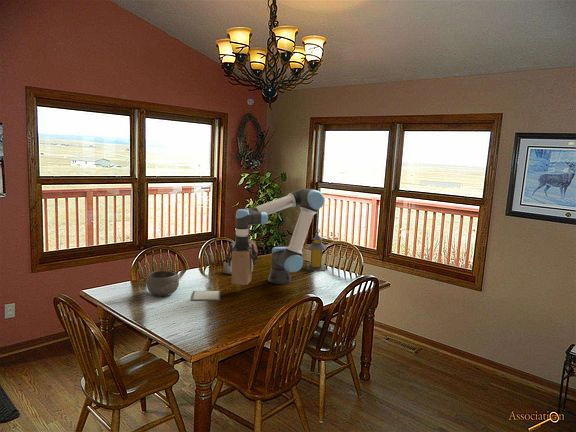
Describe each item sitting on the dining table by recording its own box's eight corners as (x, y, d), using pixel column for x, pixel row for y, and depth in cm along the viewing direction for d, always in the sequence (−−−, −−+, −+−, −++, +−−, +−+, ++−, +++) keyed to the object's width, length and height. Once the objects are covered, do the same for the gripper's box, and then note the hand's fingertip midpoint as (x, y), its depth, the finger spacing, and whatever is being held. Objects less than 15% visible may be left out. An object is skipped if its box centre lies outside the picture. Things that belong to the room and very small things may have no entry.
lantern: (307, 265, 327) (309, 227, 322) (325, 266, 325) (327, 228, 320) (305, 269, 313) (307, 230, 308) (324, 271, 311) (327, 231, 307)
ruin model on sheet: (239, 274, 295) (239, 260, 293) (237, 275, 292) (237, 261, 290) (225, 272, 299) (225, 258, 298) (223, 273, 296) (223, 259, 295)
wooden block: (247, 285, 248) (247, 252, 245) (230, 284, 250) (231, 251, 247) (251, 280, 258) (252, 249, 255) (236, 279, 260) (236, 247, 257)
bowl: (184, 292, 251) (184, 271, 249) (166, 301, 234) (166, 279, 232) (159, 288, 256) (159, 268, 255) (139, 297, 239) (139, 275, 238)
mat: (220, 291, 255) (220, 290, 255) (220, 300, 239) (220, 299, 239) (193, 291, 253) (193, 290, 252) (191, 300, 237) (191, 299, 237)
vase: (223, 262, 324) (224, 223, 319) (239, 257, 341) (240, 221, 337) (250, 267, 312) (251, 227, 307) (265, 262, 329) (266, 224, 325)
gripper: (261, 234, 255) (261, 268, 259) (221, 234, 252) (221, 269, 255) (262, 236, 248) (262, 272, 251) (221, 236, 244) (221, 272, 248)
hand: (241, 270), depth 253 cm, fingers closed on wooden block, 12 cm apart
